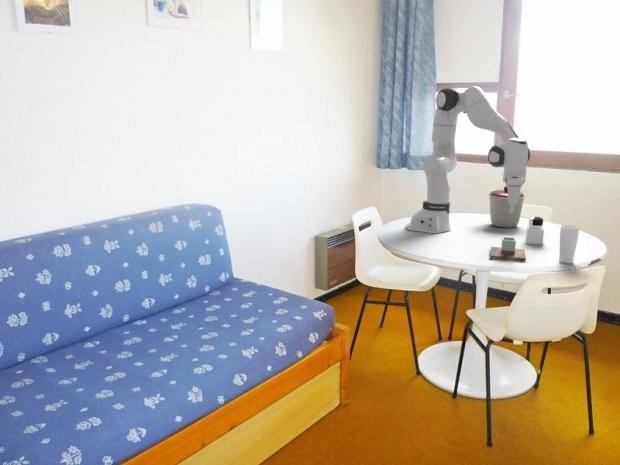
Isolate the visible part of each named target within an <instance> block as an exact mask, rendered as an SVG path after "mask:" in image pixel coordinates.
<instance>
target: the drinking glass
mask: <svg viewBox="0 0 620 465" xmlns="http://www.w3.org/2000/svg"><path fill="white" fill-rule="evenodd" d="M579 232H580V228H579V227H578V226H577V225H570V224H564V225H561V226H560V232H559V233H560V234H559V256H558V257H559V258H558V260H559V262H560V263H561V264H572V263H574V257H575V253H576V249H577V245H578V244H577V243H578V238H579Z"/></svg>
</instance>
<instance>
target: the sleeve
mask: <svg viewBox="0 0 620 465" xmlns="http://www.w3.org/2000/svg"><path fill="white" fill-rule="evenodd" d="M516 245H517V240H516V237H508V236H507V237H506V236H502V238H501V254H513V255H515V249H516Z"/></svg>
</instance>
